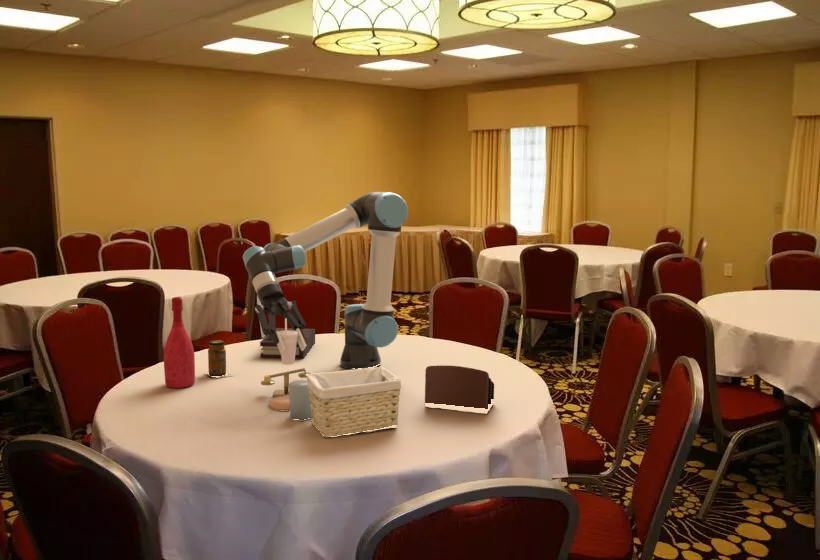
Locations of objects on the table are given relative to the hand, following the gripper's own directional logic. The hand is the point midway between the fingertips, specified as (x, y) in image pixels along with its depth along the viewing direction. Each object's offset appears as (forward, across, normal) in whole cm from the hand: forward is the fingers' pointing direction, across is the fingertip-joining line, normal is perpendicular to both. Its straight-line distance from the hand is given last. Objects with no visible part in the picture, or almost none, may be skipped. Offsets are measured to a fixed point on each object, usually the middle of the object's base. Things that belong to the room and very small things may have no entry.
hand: (293, 349), depth 216 cm
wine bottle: (-18, +20, -43) cm, 51 cm away
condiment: (-20, +5, -46) cm, 51 cm away
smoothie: (+1, 0, -6) cm, 6 cm away
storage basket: (+30, -6, +4) cm, 31 cm away
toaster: (+34, -42, +7) cm, 54 cm away
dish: (+10, 0, -15) cm, 18 cm away
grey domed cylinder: (+19, +2, -7) cm, 20 cm away
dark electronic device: (-32, -32, -59) cm, 74 cm away
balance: (+4, -4, -22) cm, 23 cm away
